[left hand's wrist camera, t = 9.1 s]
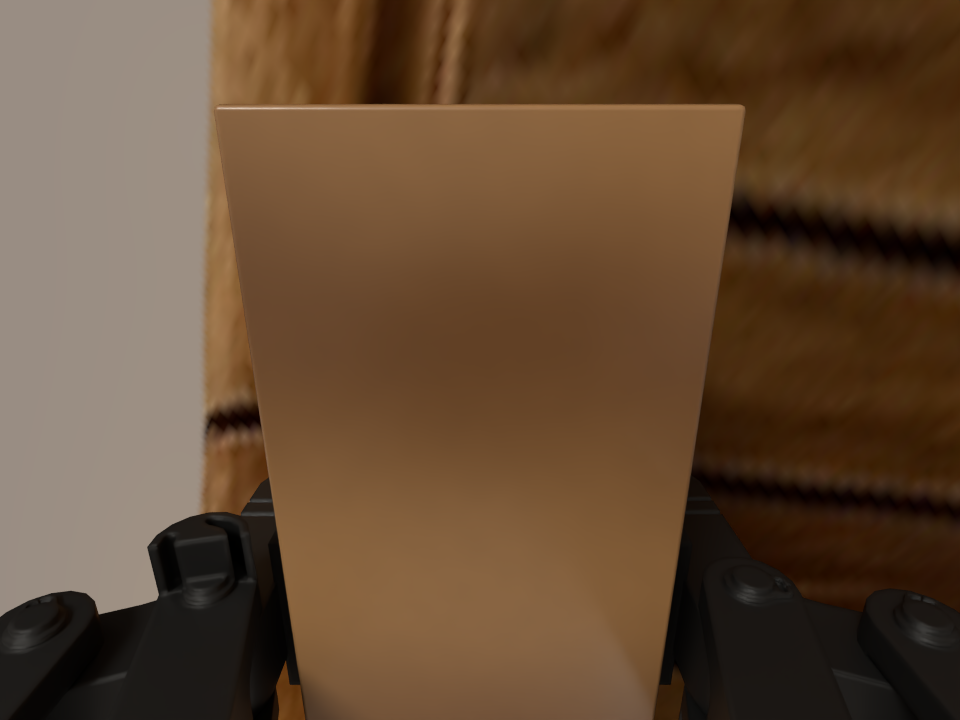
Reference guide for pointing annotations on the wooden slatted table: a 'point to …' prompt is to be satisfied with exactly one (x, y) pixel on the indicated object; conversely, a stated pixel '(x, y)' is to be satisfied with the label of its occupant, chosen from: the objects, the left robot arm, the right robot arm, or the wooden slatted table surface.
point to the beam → (479, 390)
